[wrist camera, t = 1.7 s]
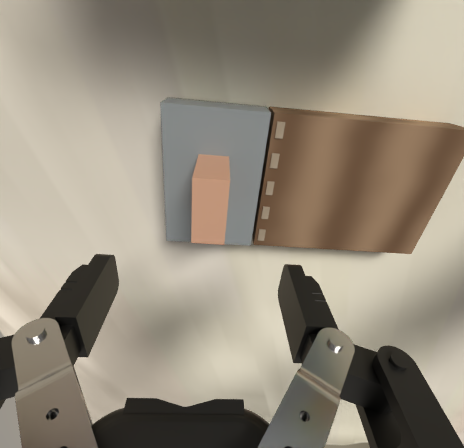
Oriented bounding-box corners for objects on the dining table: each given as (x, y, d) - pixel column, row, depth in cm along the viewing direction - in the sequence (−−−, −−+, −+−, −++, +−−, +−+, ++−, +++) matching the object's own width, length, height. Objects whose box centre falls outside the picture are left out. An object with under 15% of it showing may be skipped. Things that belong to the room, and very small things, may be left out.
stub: (265, 106, 22) (283, 127, 16) (248, 228, 29) (255, 282, 22) (167, 97, 22) (142, 114, 15) (171, 224, 28) (154, 277, 21)
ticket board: (449, 123, 24) (478, 131, 21) (395, 237, 30) (411, 254, 27) (269, 106, 23) (274, 112, 20) (251, 228, 29) (253, 245, 26)
